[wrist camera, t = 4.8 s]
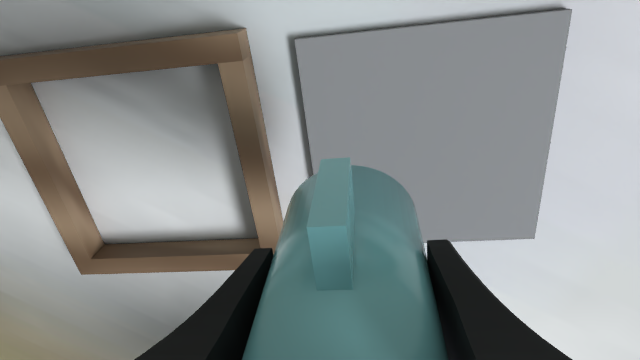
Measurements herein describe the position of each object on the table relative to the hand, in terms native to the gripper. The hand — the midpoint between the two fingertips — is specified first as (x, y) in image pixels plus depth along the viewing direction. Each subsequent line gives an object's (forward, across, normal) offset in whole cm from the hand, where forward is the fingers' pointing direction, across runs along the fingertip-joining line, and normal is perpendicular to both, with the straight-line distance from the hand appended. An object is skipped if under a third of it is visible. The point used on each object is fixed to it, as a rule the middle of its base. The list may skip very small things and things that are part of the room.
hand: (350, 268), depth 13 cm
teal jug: (+2, 0, 0) cm, 2 cm away
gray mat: (+9, -4, 0) cm, 10 cm away
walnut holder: (+9, +11, 0) cm, 15 cm away
